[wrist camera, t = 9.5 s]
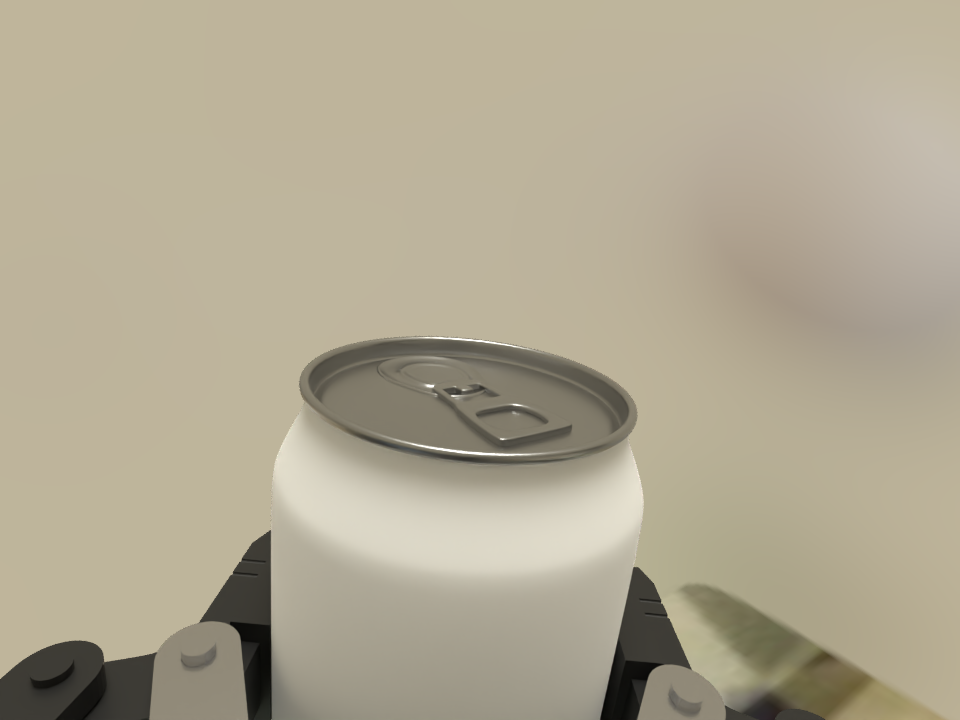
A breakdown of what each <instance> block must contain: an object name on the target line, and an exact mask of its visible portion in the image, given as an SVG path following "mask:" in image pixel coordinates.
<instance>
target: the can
mask: <svg viewBox="0 0 960 720" xmlns="http://www.w3.org/2000/svg"><path fill="white" fill-rule="evenodd" d="M299 382H300V383H299V386H300V392H301V395H302V398H303V399H304V404H303V406H302V408H301V410H300V412H299V414H298V416H297V418H296V420H295V421H294V423H293V425H292V426H291V428H290V430H289V432H288V434H287V436H286V438H285V440H284V442H283V444H282V446H281V448H280V450H279V453H278V456H277V458H276V461H275V466H274V473H273V481H272V503H271V682H272V720H600V717H601V712H602V708H603V703H604V699H605V694H606V690H607V685H608V681H609V677H610V672H611V667H612V663H613V658H614V654H615V649H616V645H617V640H618V636H619V631H620V627H621V622H622V618H623V613H624V609H625V604H626V599H627V595H628V590H629V585H630V581H631V576H632V571H633V566H634V562H635V557H636V552H637V546H638V541H639V536H640V530H641V525H642V516H643V504H644V503H643V492H642V486H641V482H640V477H639V474H638V470H637V467H636V463H635V460H634V457H633V453H632V450H631V447H630V443H629V438H628V435H629V434H630V433H631V432H632V430H633V429H634V426H635V424H636V421H637V409H636V405H635V403H634V401H633V399H632V398H631V396H630V395H629V394H628V393H627V391H625V390H624V389H623V388H622V387H621V386H620V385H619V384H617V383H616V382H615V381H613V380H612V379H610V378H609V377H607V376H605V375H603V374H602V373H599V372H598V371H596V370H594V369H592V368H589V367H587V366H585V365H582V364H580V363H577V362H575V361H572V360H569V359H566V358H563V357H560V356H557V355H554V354H550V353H547V352H543V351H539V350H535V349H531V348H526V347H522V346H517V345H511V344H506V343H500V342H493V341H486V340H478V339H469V338H457V337H434V336H414V337H394V338H384V339H376V340H369V341H363V342H358V343H354V344H349V345H345V346H342V347H339V348H336V349H333V350H330V351H328V352H326V353H324V354H322V355H320V356H318V357H317V358H315V359H314V360H312V361H311V362H310V363H309V364H308V365H307V366H306V367H305V369H304V370H303V372H302V374H301V377H300V381H299Z"/></svg>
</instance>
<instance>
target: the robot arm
mask: <svg viewBox="0 0 960 720" xmlns="http://www.w3.org/2000/svg"><path fill="white" fill-rule="evenodd" d="M271 719H272V682H271V530H270V531H269V532H267V533H266V534H264V535H263V536H262V537H260V538H259V539H257V540H256V541H255V542H253V543H252V544H251V546H250V547H249V549H248V550H247V552H246V553H245V555H244V556H243V558H242V561H241V562H239V564H238V565H237V567H236V568H235V570H234V571H233V575H231V576H230V577H229V579H228V580H227V582H226V583H225V585H224V586H223V588H222V589H221V591H220V592H219V594H218V595H217V596H216V598H215V599H214V601H213V603H212V604H211V605H210V607H209V608H208V610H207V612H206V613H205V614H204V616H203V617H202V619H201V620H200V622H199V623H197V624H194V625H191V626H188V627H186V628H183V629H182V630H180V631H178V632H176V633H175V634H173V635H172V636H171V637H169V638H168V639H167V640H166V641H165V642H164V643H163V644H162V646H161V647H160V648H159V650H158V652H156V653H153V654H149V655H145V656H139V657H134V658H128V659H121V660H115V661H110V662H104V656H103V652H102V650H101V649H100V648H99V647H98V646H97V645H96V644H94V643H91V642H87V641H69V642H63V643H59V644H55V645H52V646H49V647H46V648H44V649H42V650H40V651H38V652H36V653H34V654H32V655H30V656H29V657H27V658H26V659H24V660H22V661H21V662H20V663H19V664H17V665H16V666H15V667H14V668H13V669H11V670H10V671H9V672H8V673H7V674H6V675H5V676H3V677H2V678H1V679H0V720H271ZM600 720H758V719H756V718H753V717H750V716H747V715H745V714H742V713H740V712H737V711H735V710H733V709H731V708H729V707H727V706H725V705H724V702H723V700H722V698H721V696H720V694H719V693H718V691H717V690H716V689H715V688H714V686H713V685H712V684H711V683H710V682H709V681H707V680H706V679H705V678H704V677H702V676H701V675H699V674H698V673H696V672H694V671H692V669H691V667H690V665H689V663H688V660H687V658H686V656H685V653H684V651H683V649H682V647H681V644H680V642H679V640H678V638H677V635H676V633H675V631H674V628H673V626H672V624H671V622H670V619H669V618H667V613H666V610H665V608H664V606H663V604H661V599H660V597H659V594H658V592H657V590H656V588H655V585H654V583H653V582H652V581H651V580H650V579H649V578H648V577H647V576H646V575H645V574H644V573H643V572H642V571H641V570H640V569H639V568H638V567H633V571H632V576H631V581H630V585H629V590H628V595H627V599H626V604H625V609H624V613H623V618H622V622H621V627H620V631H619V636H618V640H617V645H616V649H615V654H614V658H613V663H612V667H611V672H610V677H609V681H608V685H607V690H606V694H605V699H604V703H603V708H602V712H601V717H600ZM775 720H825V719H824V718H822V717H820V716H818V715H816V714H813V713H811V712H808V711H805V710H800V709H786V710H784V711H781V712H780V713H779V714H778V715H777V716H776V718H775Z"/></svg>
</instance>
